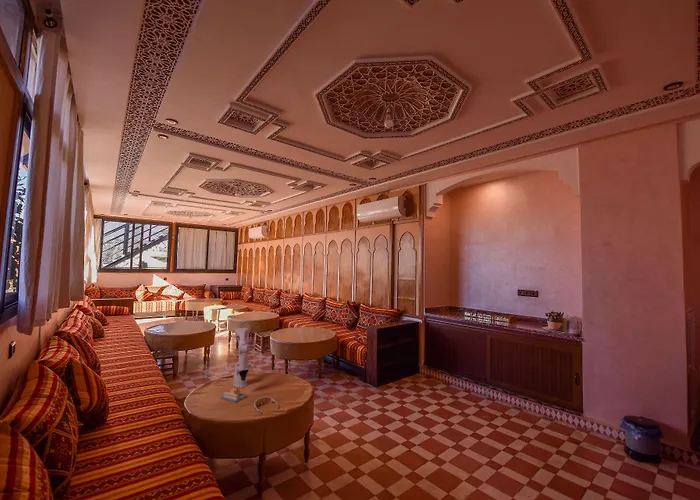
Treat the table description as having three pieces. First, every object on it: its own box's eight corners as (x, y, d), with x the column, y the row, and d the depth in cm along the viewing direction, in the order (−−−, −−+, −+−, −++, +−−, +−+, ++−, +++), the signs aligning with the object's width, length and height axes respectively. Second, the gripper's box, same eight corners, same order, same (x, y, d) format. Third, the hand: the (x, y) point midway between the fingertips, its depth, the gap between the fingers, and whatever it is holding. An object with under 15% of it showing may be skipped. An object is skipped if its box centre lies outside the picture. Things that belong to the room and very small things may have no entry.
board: (220, 398, 225) (220, 393, 225) (232, 393, 235) (232, 387, 235) (235, 402, 219) (235, 397, 219) (247, 396, 229) (247, 391, 229)
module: (229, 396, 226) (230, 389, 226) (235, 394, 231) (235, 386, 231) (234, 397, 224) (234, 390, 224) (239, 395, 229) (239, 387, 229)
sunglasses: (270, 401, 222) (270, 394, 222) (280, 412, 211) (281, 404, 211) (250, 407, 213) (251, 400, 213) (261, 419, 202) (261, 411, 201)
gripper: (240, 365, 227) (239, 384, 226) (254, 359, 240) (254, 378, 239) (232, 364, 230) (232, 383, 230) (247, 358, 243) (247, 376, 243)
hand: (243, 380), depth 235 cm, fingers closed
